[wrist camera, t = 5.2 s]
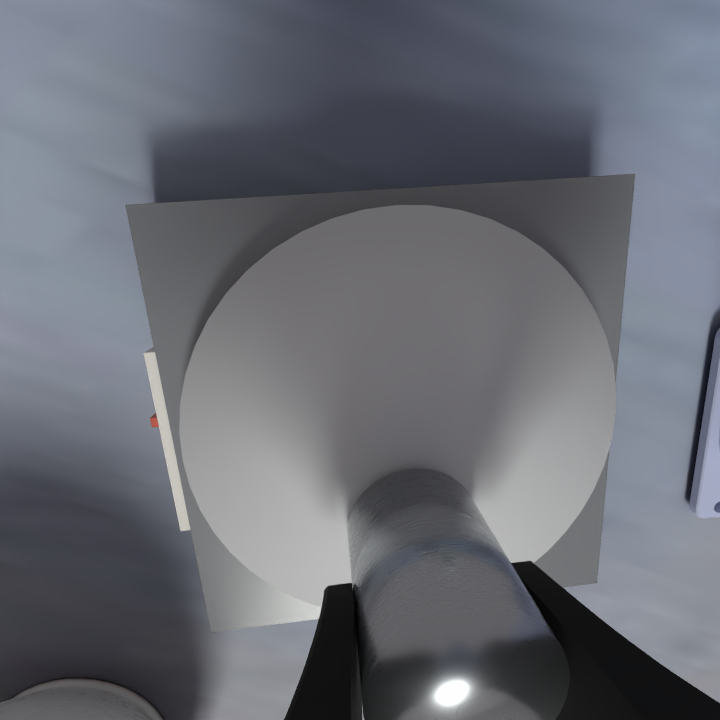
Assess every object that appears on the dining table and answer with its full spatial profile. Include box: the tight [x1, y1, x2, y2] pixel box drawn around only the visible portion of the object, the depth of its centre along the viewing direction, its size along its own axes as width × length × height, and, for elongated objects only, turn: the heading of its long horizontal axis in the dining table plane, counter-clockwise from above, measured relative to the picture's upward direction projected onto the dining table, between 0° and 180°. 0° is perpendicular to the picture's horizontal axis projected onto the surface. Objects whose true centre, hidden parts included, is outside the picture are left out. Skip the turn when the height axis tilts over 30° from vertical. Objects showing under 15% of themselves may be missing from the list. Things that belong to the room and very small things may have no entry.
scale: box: [126, 174, 635, 633], centre depth 14 cm, size 15×14×3 cm
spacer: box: [347, 468, 570, 720], centre depth 10 cm, size 4×4×5 cm
